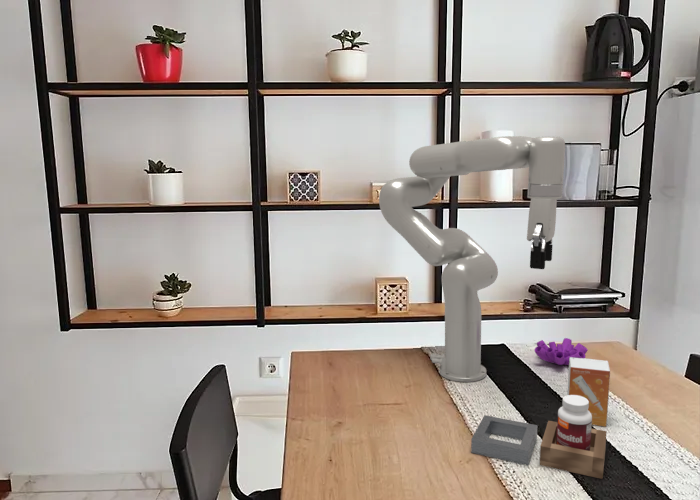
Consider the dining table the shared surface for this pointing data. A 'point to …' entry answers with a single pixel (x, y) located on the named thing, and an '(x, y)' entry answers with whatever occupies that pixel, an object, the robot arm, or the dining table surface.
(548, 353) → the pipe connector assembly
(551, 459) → the tray
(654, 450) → the dining table surface
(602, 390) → the small box
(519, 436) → the socket block
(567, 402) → the pill bottle
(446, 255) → the robot arm
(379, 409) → the dining table surface
